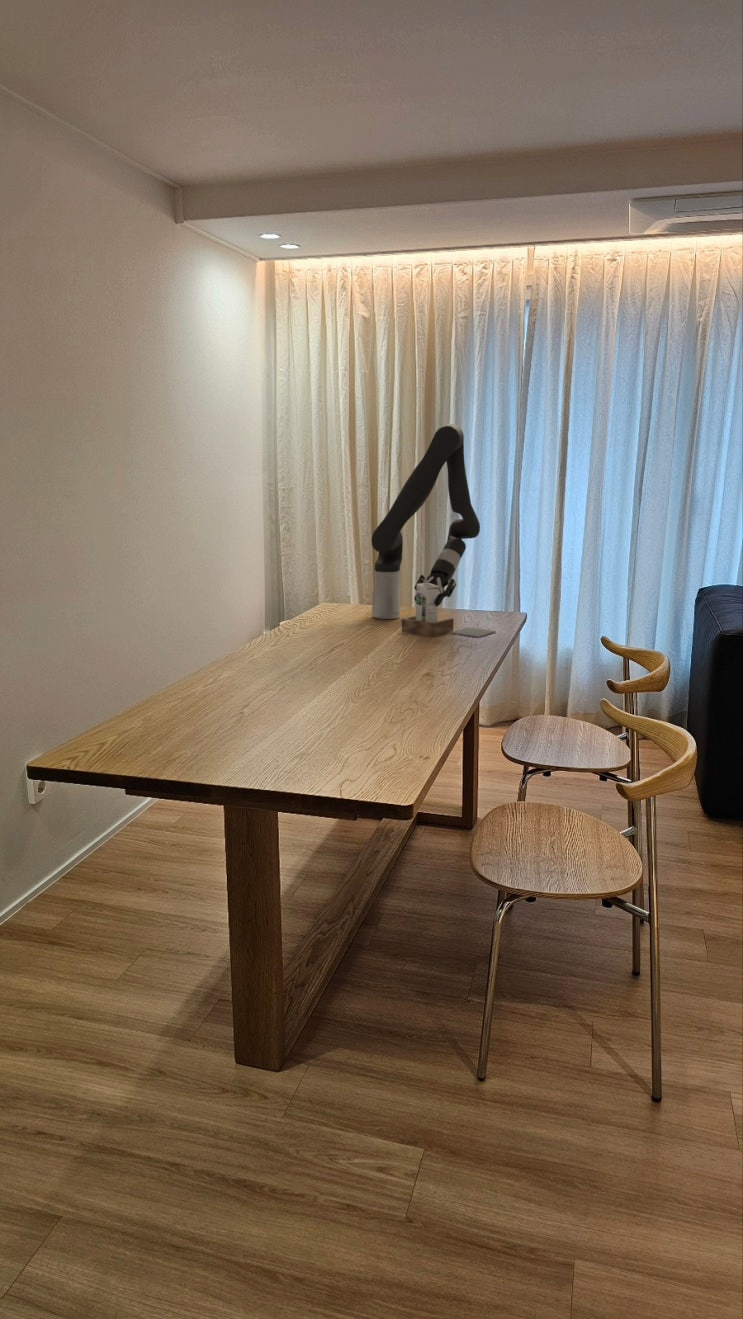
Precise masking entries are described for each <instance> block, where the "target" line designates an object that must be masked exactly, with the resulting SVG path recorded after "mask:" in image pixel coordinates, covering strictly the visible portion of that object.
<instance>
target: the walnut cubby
mask: <svg viewBox="0 0 743 1319" xmlns="http://www.w3.org/2000/svg"><path fill="white" fill-rule="evenodd" d="M415 619H416V615H413V616H408V617H405V618H402V619H401V633H404V632H405V633H404V634H410V633H411V635H417V636H423V635H424V636H425V637H429V636H431V638H435V636H436V637H438V635H439V636H442V635H446V634H448V632H449V633H451V631H454V618H453V617H450V618H446V619H442V620H439V621H438V620H437V622H435V623H430V622H423V621H416V620H415ZM445 633H446V634H445ZM424 636H423V637H424Z"/></svg>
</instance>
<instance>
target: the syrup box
mask: <svg viewBox="0 0 743 1319" xmlns="http://www.w3.org/2000/svg"><path fill="white" fill-rule="evenodd" d="M415 591H416V590H415ZM438 594H439V591H438V585H434V584H431V583H419V584H417V591H416V594H415V596H416V602H415V616H416V619H415V620H416V621H423V622H430V623H435V622H438V611H439V610H438V609H439V608H438V607H439V606H436V605H435V604H434V601H435V600H436V598H437V596H438Z"/></svg>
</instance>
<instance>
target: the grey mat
mask: <svg viewBox="0 0 743 1319" xmlns="http://www.w3.org/2000/svg"><path fill="white" fill-rule="evenodd" d="M496 632H497V631H496V630H490V629H485V628H484V629H482V628H477V627H476V628H475V627H469V626H468V627H464V628H461V629H457V630H453V632H450V634H451V633H452V634H451V635H455V634H459V635H458V636H462V635H465V636H464V637H469V636H471V637H470V638H475V637H477V639H480V638H483V637H486V635H487V636H489V634H490V635H492V634H495V633H496ZM479 637H480V638H479Z"/></svg>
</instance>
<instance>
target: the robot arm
mask: <svg viewBox="0 0 743 1319" xmlns="http://www.w3.org/2000/svg"><path fill="white" fill-rule="evenodd" d="M464 436H465V434H464V431H463V429H462V428H461V427H460V426H459V425H457V424H455V423H447V424H444V425H442V426H440V427H439V428H437V430H436V431H435V433H434V435H433V437H432V439H431V441H430V444H429V445H428V448H427V450H426V451H425V454H424V455H423V457H422V458H421V460H420V461H419V463H418V464H417V465H416V466H415V468H414V469H413V471H412V472H411V473H410V476H408V478H407V479H406V481H405V483H404V485H403V486H402V488H401V490H400V492H399V493H398V495H397V497H396V499H395V500H394V502H393V504H392V505H391V507H390V509H389V511H388V512H387V514H386V515H385V516H384V518H383V520H381V522H380V523H379V525H378V526H377V527H376V529H375V530H374V531H373V533H372V536H371V539H370V540H371V545H372V548H373V549H374V550H375V551H376V552H377V553H378V556H377V559H376V561H375V562H374V590H372V595H371V596H372V597H371V601H372V602H371V606H372V607H371V611H372V612H371V613H372V614H371V616H372V617H374V618H376V619H380V620H395V619H399V618H400V617H401V616H400V606H401V604H400V603H401V602H400V601H401V599H400V598H401V596H400V595H401V592H400V591H401V590H400V588H401V580H400V579H401V564H402V561H403V549H404V548H403V546H404V545H403V542H404V541H403V534H402V532H401V531H402V529H403V527H404V526H405V525H406V524H407V522H408V521H409V520H410V519H411V518H412V517H413V516H414V515H415V514H416V513H417V512H418V511H419V510H420V508H422V507H423V505H424V503H425V502H426V501H427V499H428V497H429V496H430V494H431V492H432V490H433V489H434V487H435V484H436V482H437V479H438V477H439V475H440V472H441V469H442V468H443V466H444V465H445V463H446V467H447V490H448V498H449V501H450V502H449V503H450V507H451V511H452V512H453V513H455V514H459V515H460V516H461V518H457V519H455V520H454V521H452V523H451V524H450V525H449V530H448V535H447V538H446V543H445V544H444V546H443V549H442V550H441V552H440V553H439V554H438V556H437V558H436V560H435V562H434V564H433V566H432V568H431V569H430V574H429V575H428V576H424V574H421V575H420V576H419V577H418V580H417V581H416V583H415V585H414V589H415V591H417V584H419V583H431V584H434V585H438V596H437V598H436V600H435V601H434V604H435V605H436V606H438V607H439V606H440V605H441V604H442V602H443V600H444V599H445V598H446V597H447V598H451V596H452V594H453V592H454V591H455V588H456V586H457V582H456V581H455V579H454V578H453V576H454V574H455V572H456V570H457V569H458V567H459V564H460V561H461V560H462V557H463V556H464V554H465V551H466V549H467V545H466V542H464V540H463V539H465V540H466V539H475V538H477V537H478V536H479V534H480V529H481V524H480V521H479V519H478V517H477V513H476V511H475V509H474V507H473V505H472V501H471V494H470V490H469V484H468V479H467V472H466V465H465V451H464V450H465V449H464V447H465V446H464V445H465V444H464V442H465V441H464V440H465V439H464V438H465V437H464ZM445 588H446V589H445ZM414 602H415V603H416V595H414Z"/></svg>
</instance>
